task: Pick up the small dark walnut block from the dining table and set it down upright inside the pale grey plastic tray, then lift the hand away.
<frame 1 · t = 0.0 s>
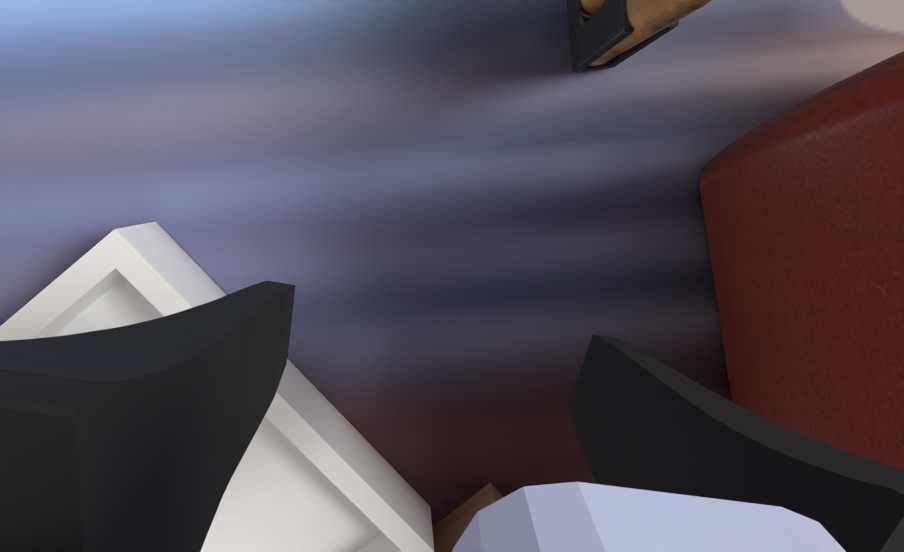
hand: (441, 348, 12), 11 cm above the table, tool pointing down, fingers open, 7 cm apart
walnut block: (483, 532, 25), on the table
tray: (188, 470, 23), on the table
plant pot: (834, 256, 24), on the table
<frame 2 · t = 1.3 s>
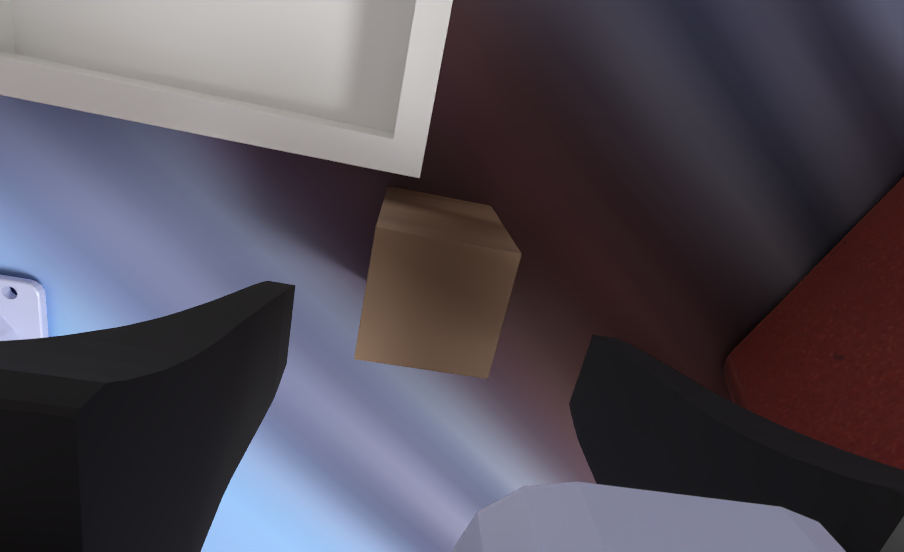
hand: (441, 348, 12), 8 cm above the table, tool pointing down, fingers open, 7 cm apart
walnut block: (430, 245, 20), on the table
plant pot: (903, 329, 23), on the table
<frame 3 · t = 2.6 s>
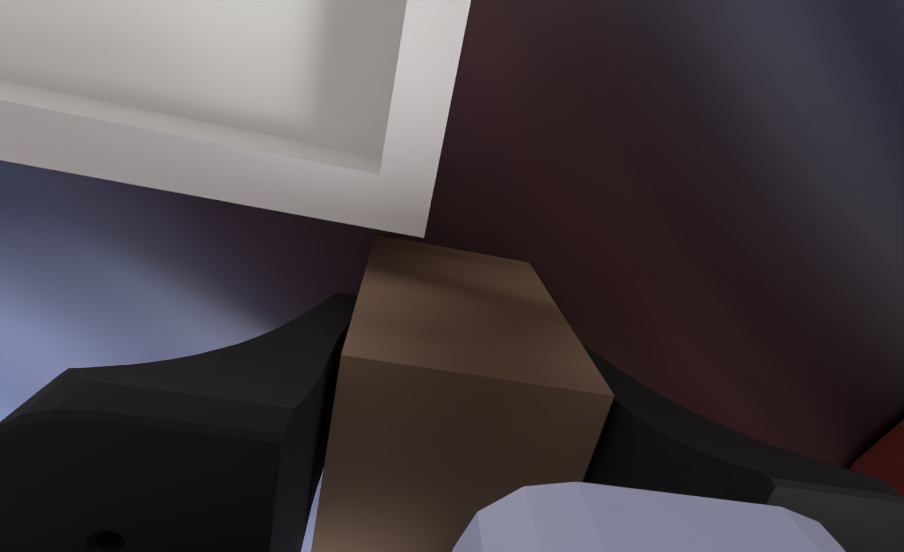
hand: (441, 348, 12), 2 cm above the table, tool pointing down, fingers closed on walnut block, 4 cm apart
walnut block: (438, 318, 13), on the table, touching gripper
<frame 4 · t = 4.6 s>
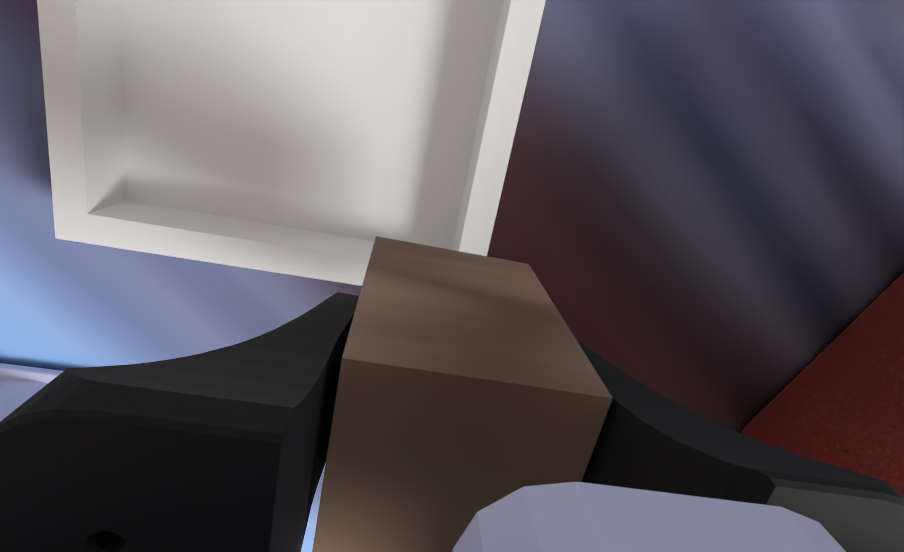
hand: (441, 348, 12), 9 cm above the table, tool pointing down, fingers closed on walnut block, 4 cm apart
walnut block: (438, 319, 13), point 7 cm above the table, touching gripper
plant pot: (903, 400, 25), on the table
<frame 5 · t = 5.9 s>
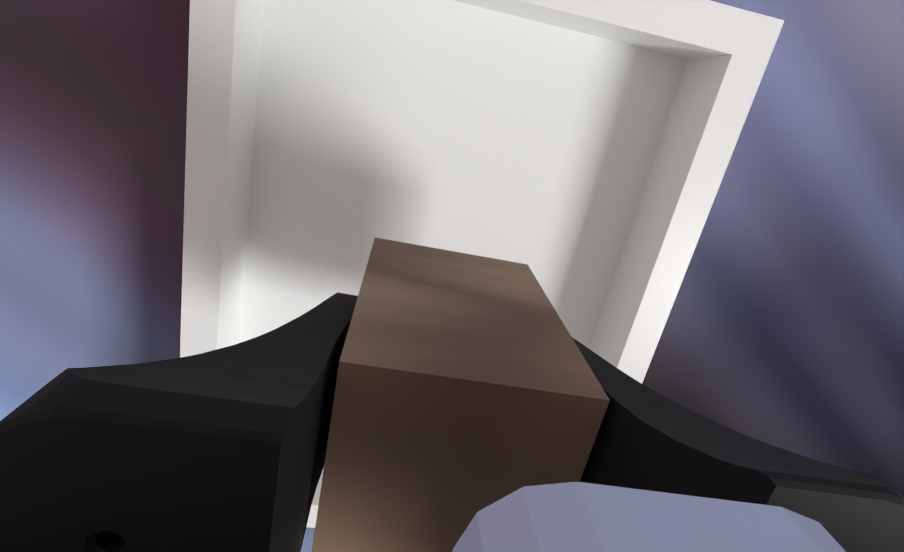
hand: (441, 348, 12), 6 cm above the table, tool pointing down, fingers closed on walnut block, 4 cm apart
walnut block: (437, 320, 13), point 4 cm above the table, touching gripper
tray: (433, 267, 17), on the table
when the fingers open (4 cm above the table, at t = 6.7 s): walnut block drops 1 cm, resting on tray.
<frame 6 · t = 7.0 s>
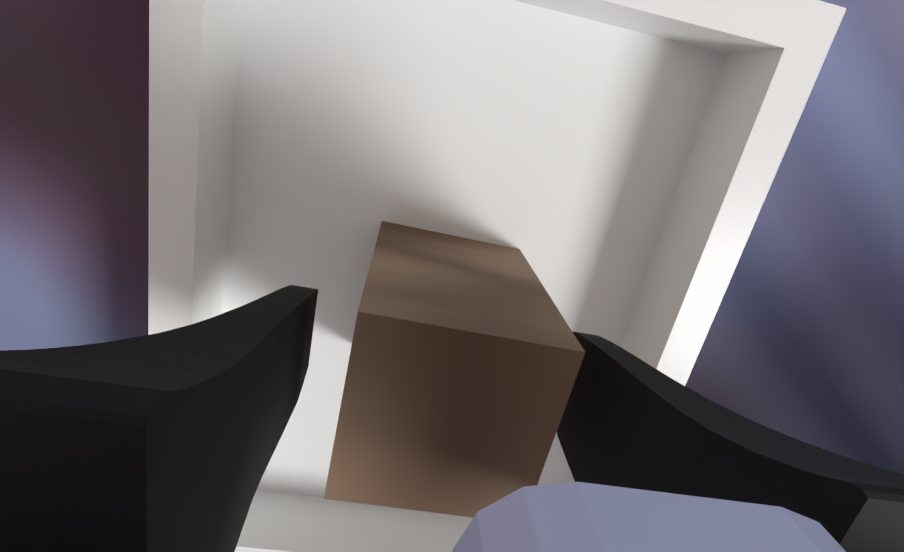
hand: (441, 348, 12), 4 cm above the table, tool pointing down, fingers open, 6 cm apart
walnut block: (436, 299, 15), point 1 cm above the table, touching tray
tray: (435, 287, 15), on the table
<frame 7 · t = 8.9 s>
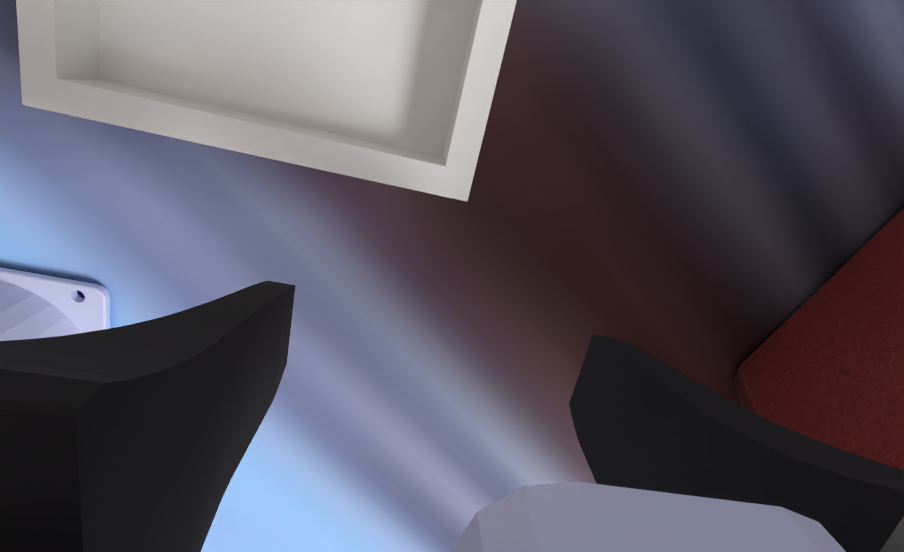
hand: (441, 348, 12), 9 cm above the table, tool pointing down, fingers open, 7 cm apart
plant pot: (902, 345, 24), on the table
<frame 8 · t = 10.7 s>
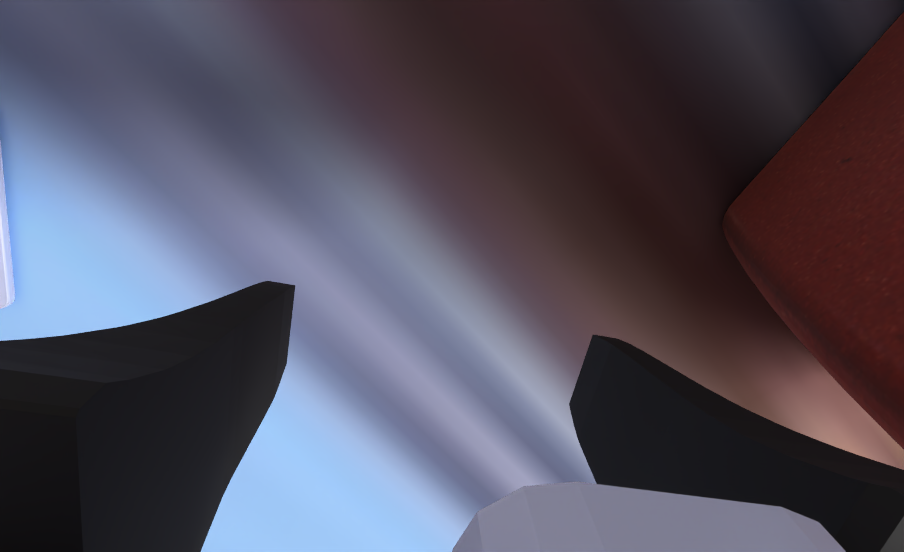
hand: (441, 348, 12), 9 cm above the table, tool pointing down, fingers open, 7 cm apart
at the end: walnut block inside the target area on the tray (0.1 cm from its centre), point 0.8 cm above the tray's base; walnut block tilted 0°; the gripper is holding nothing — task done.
